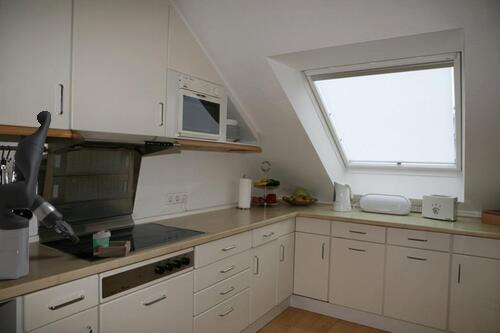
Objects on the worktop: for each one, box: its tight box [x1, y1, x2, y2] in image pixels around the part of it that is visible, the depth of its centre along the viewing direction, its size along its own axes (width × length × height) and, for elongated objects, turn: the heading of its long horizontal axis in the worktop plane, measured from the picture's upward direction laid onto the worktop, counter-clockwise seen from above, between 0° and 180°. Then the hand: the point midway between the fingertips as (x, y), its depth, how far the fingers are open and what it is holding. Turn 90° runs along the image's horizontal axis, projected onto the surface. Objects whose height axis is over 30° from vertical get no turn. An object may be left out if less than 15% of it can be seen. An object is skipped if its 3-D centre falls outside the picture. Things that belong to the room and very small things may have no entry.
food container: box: [92, 228, 111, 257], centre depth 157 cm, size 12×6×10 cm, turn 12°
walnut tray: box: [97, 240, 131, 258], centre depth 158 cm, size 12×12×4 cm
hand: (77, 241), depth 155 cm, fingers closed
